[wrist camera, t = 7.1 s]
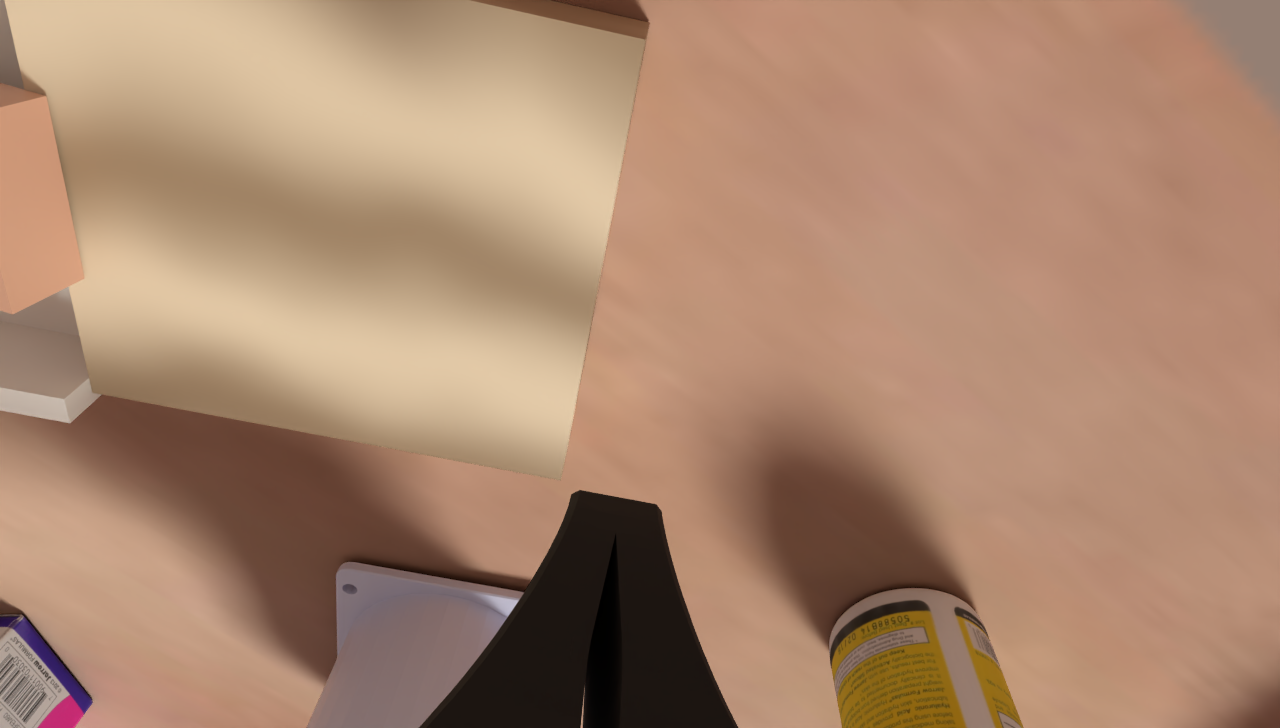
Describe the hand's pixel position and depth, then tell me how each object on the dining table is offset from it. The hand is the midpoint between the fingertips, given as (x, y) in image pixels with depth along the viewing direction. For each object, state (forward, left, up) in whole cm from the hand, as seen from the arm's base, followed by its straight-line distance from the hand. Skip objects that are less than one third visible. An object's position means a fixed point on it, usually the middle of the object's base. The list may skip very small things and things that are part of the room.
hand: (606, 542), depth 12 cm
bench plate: (0, +8, -10) cm, 12 cm away
